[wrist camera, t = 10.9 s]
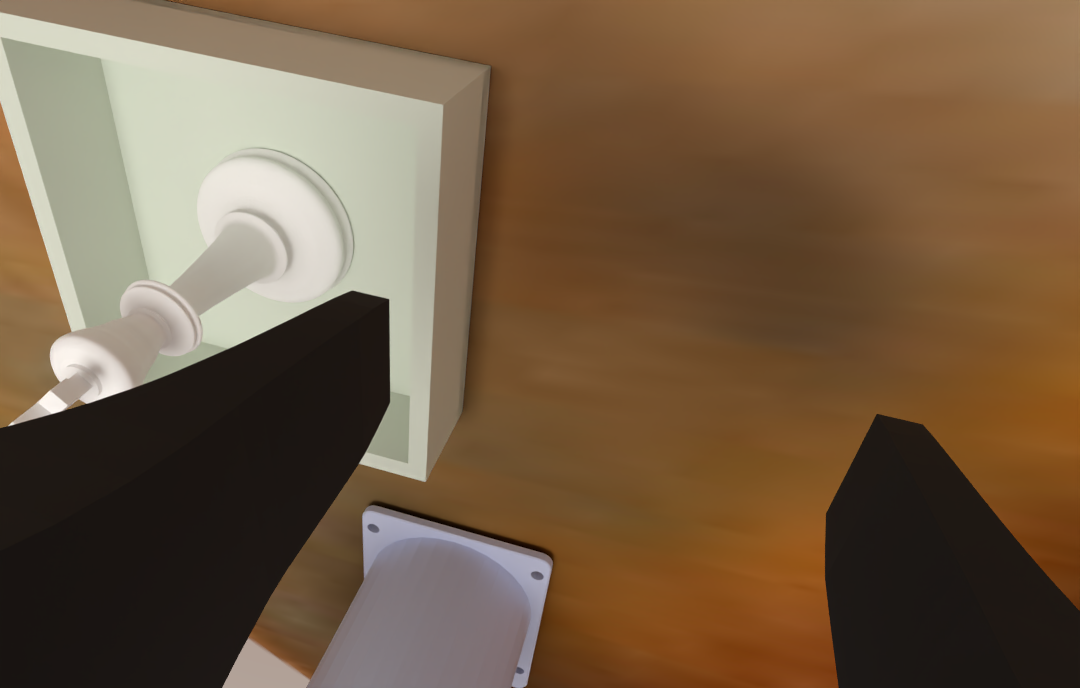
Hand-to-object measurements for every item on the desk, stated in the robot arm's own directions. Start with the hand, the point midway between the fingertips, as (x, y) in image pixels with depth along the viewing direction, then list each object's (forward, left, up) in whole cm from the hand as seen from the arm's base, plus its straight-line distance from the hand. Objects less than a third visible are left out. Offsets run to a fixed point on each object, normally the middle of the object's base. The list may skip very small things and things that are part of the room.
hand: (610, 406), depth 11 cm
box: (-4, +11, -10) cm, 16 cm away
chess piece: (-4, +11, -10) cm, 16 cm away
